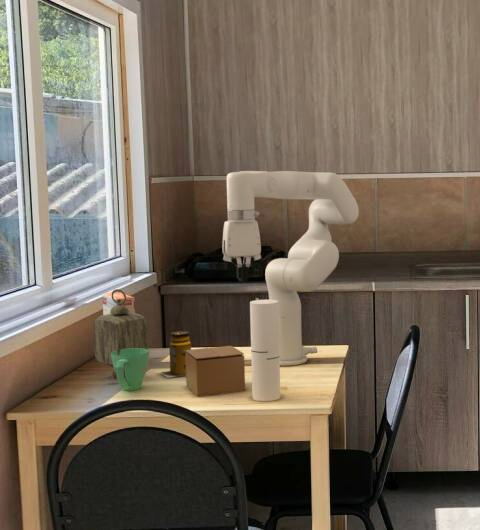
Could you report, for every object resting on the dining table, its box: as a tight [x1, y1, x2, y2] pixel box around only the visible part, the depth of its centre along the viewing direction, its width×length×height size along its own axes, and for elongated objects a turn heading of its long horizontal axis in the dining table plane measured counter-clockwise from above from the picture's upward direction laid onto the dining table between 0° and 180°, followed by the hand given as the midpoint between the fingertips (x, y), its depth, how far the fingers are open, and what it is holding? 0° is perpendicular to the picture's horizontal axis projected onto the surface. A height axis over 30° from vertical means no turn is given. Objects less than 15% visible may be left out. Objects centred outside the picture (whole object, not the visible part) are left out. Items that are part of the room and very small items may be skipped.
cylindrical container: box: [249, 299, 281, 402], centre depth 227 cm, size 7×7×25 cm
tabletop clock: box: [92, 288, 149, 379], centre depth 251 cm, size 14×9×25 cm, turn 50°
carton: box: [185, 347, 246, 397], centre depth 237 cm, size 13×12×10 cm
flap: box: [208, 345, 245, 357], centre depth 238 cm, size 6×12×1 cm, turn 27°
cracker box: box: [102, 292, 136, 315], centre depth 269 cm, size 14×6×21 cm, turn 34°
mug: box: [111, 348, 150, 392], centre depth 236 cm, size 15×10×10 cm
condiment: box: [159, 330, 192, 379], centre depth 255 cm, size 7×8×12 cm
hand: (242, 280), depth 251 cm, fingers closed
